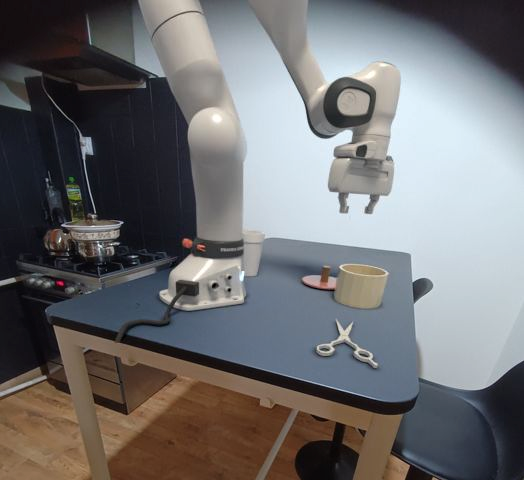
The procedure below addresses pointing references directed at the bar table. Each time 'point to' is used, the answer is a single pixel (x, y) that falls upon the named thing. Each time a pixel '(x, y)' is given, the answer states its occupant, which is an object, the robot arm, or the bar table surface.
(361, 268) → the pot
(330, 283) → the lid
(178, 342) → the bar table surface
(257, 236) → the foam cup
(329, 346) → the scissors
